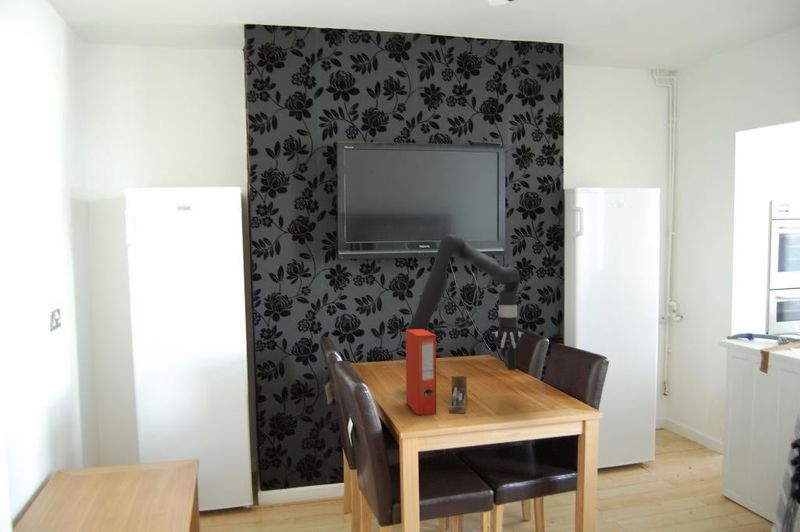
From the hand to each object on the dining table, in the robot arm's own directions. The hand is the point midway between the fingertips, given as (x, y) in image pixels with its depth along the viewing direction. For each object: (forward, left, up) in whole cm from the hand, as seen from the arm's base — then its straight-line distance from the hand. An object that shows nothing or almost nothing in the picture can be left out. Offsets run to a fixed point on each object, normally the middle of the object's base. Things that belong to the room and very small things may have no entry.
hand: (508, 356), depth 236 cm
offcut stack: (-21, 0, -21) cm, 30 cm away
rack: (-21, 0, -21) cm, 30 cm away
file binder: (-36, -6, -21) cm, 42 cm away
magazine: (0, 0, -3) cm, 3 cm away
